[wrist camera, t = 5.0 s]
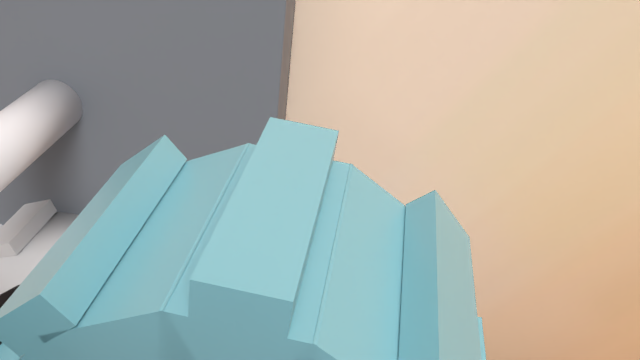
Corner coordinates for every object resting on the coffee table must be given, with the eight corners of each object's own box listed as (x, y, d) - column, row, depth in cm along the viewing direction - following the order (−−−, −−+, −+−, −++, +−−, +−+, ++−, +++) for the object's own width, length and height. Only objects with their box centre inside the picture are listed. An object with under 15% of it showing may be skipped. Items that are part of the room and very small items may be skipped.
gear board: (263, 374, 27) (225, 507, 22) (5, 323, 27) (-91, 440, 22) (299, -54, 17) (246, 6, 12) (-102, -113, 18) (-313, -80, 13)
